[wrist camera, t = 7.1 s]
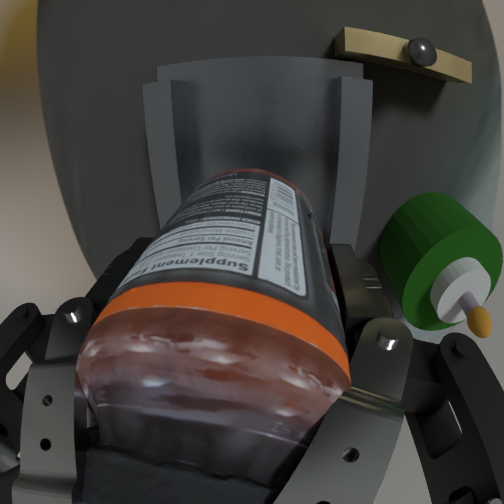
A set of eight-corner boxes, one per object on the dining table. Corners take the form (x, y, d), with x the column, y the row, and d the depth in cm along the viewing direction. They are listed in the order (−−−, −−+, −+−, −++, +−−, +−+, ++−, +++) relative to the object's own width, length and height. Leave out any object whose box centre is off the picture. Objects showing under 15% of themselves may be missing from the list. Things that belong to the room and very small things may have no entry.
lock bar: (334, 35, 12) (348, 20, 9) (447, 62, 12) (480, 61, 8) (334, 58, 13) (350, 49, 10) (446, 83, 12) (481, 86, 9)
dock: (163, 67, 14) (138, 64, 11) (358, 65, 13) (376, 59, 10) (183, 255, 22) (169, 283, 19) (340, 261, 20) (349, 291, 18)
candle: (365, 278, 21) (397, 385, 13) (399, 180, 17) (479, 263, 8) (442, 288, 21) (486, 375, 13) (479, 206, 17) (555, 281, 8)
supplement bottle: (311, 288, 14) (318, 544, 4) (191, 281, 14) (107, 509, 4) (326, 166, 10) (447, 543, 1) (176, 163, 11) (-50, 421, 1)
